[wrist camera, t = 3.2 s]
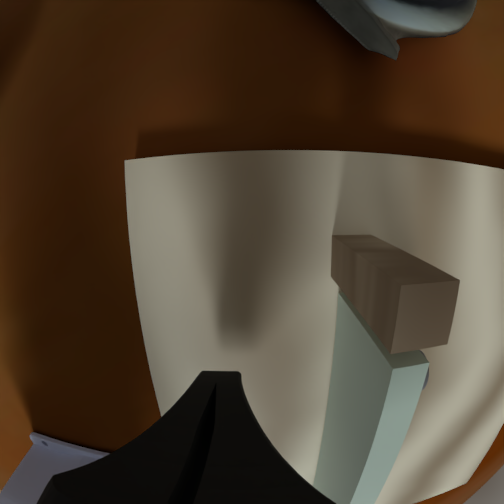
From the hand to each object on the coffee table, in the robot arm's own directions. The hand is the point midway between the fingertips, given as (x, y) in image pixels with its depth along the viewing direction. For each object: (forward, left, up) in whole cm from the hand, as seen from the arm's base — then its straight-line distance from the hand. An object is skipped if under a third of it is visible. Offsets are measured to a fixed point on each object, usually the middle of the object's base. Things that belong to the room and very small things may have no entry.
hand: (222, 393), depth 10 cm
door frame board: (+8, -4, -3) cm, 9 cm away
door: (+5, -5, -2) cm, 7 cm away
